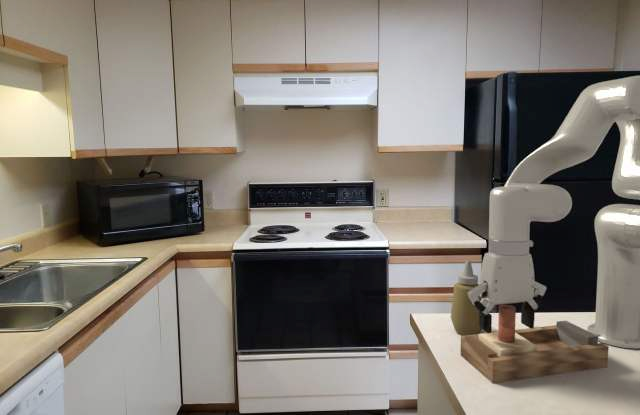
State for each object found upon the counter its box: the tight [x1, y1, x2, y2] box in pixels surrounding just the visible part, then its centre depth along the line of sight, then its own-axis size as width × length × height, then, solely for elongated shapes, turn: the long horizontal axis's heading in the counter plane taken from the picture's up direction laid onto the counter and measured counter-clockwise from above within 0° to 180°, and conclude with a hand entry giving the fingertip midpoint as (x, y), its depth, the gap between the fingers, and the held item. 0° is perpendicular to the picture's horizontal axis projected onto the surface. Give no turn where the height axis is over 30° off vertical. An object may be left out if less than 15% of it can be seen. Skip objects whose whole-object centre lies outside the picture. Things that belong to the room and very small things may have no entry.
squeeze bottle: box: [450, 260, 482, 336], centre depth 105 cm, size 8×8×18 cm
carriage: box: [478, 304, 537, 356], centre depth 88 cm, size 8×8×10 cm
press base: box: [460, 320, 610, 384], centre depth 90 cm, size 26×12×6 cm, turn 101°
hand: (506, 328), depth 88 cm, fingers open, 9 cm apart
